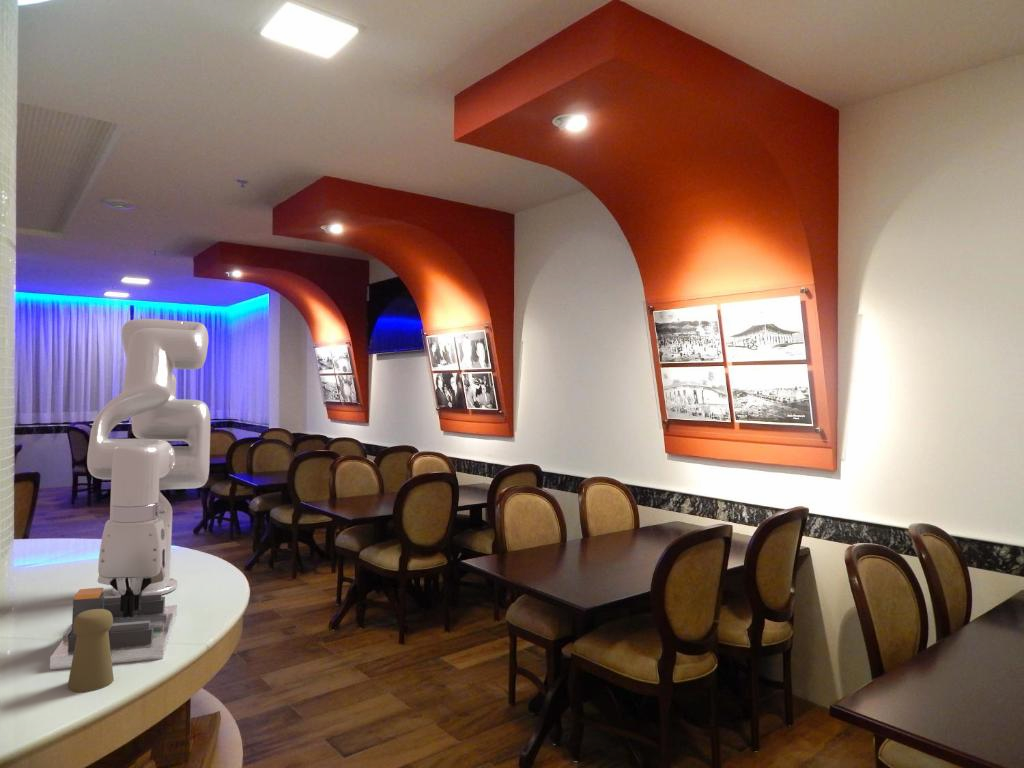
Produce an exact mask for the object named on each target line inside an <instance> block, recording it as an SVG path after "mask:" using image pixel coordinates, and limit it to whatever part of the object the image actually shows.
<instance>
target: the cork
mask: <svg viewBox="0 0 1024 768" xmlns="http://www.w3.org/2000/svg"><path fill="white" fill-rule="evenodd" d="M112 624H113V616H112V614H111V612H110V611H108V610H106V609H92V610H87V611H84V612H82V613H80V614H78V615H77V616H76V618H75V619H74V622H73V630H74V633H75V634H76V635H77V638H76V644H75V649H74V654H73V660H72V665H71V668H70V671H69V676H68V677H69V678H68V681H67V691H70V692H74V693H88V692H89V693H90V692H93V691H98V690H100V689H103V688H106V687H109V686H110V685H111V684H112V683H113V682H114V681H115V680H114V678H115V677H114V671H113V664H112V660H111V651H110V642H109V633H108V631H109V630H110V628H111V627H112Z"/></svg>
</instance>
